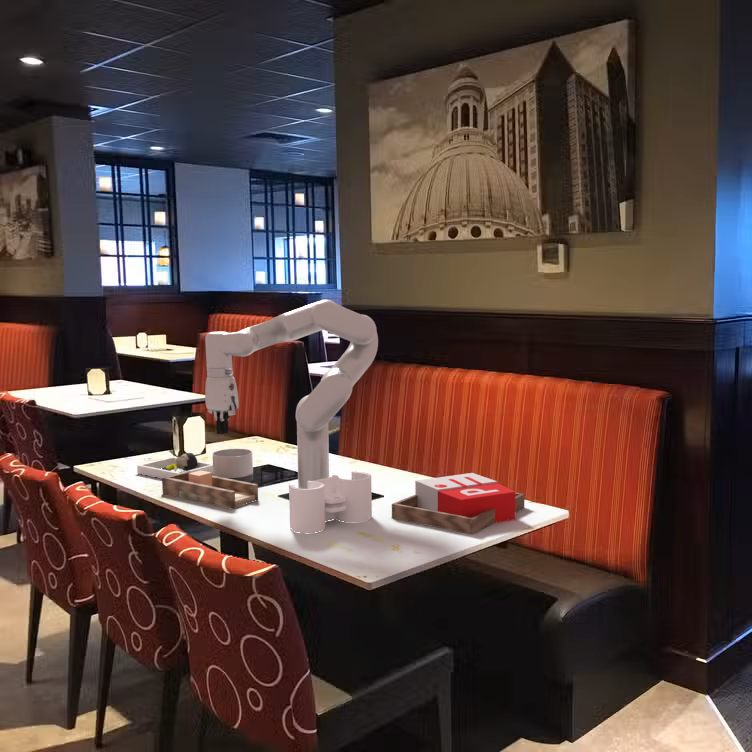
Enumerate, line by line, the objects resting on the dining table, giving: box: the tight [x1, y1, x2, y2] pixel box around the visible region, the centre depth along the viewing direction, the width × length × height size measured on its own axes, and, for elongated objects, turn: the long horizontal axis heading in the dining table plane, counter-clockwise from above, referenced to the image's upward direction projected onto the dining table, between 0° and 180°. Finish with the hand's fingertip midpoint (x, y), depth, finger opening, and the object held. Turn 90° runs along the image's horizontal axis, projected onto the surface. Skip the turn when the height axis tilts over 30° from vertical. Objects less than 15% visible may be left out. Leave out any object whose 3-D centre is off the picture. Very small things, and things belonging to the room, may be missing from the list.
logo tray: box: [391, 492, 525, 535], centre depth 234 cm, size 26×30×4 cm
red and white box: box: [414, 472, 516, 524], centre depth 234 cm, size 24×8×20 cm
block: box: [189, 470, 213, 486], centre depth 256 cm, size 5×5×5 cm
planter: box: [212, 448, 254, 483], centre depth 270 cm, size 13×13×10 cm
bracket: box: [288, 470, 373, 534], centre depth 225 cm, size 25×10×12 cm, turn 130°
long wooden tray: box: [161, 471, 259, 510], centre depth 254 cm, size 31×11×5 cm, turn 54°
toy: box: [162, 452, 198, 472], centre depth 285 cm, size 9×6×15 cm
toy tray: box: [136, 456, 213, 480], centre depth 285 cm, size 22×16×3 cm
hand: (222, 433), depth 248 cm, fingers closed
